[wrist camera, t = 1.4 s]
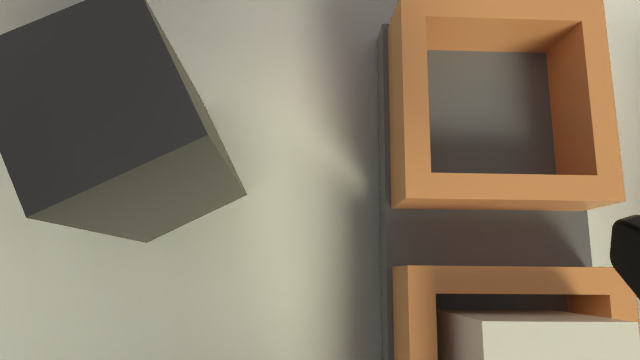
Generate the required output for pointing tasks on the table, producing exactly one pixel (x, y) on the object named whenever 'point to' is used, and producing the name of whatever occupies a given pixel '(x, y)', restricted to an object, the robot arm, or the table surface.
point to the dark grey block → (108, 124)
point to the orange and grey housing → (498, 183)
